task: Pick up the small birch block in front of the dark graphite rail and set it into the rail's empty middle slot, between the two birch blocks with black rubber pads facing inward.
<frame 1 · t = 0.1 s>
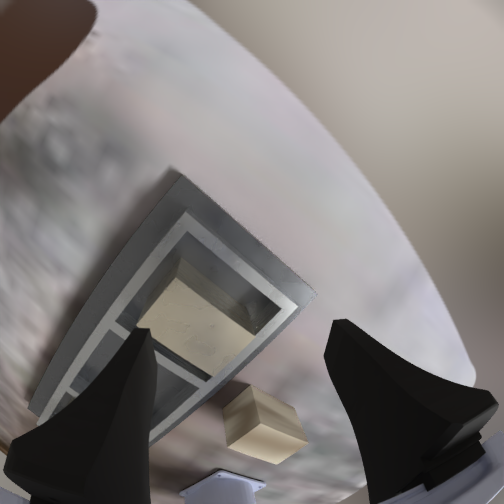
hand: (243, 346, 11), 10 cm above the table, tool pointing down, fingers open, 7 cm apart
birch block: (259, 408, 25), on the table
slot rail: (135, 367, 22), on the table
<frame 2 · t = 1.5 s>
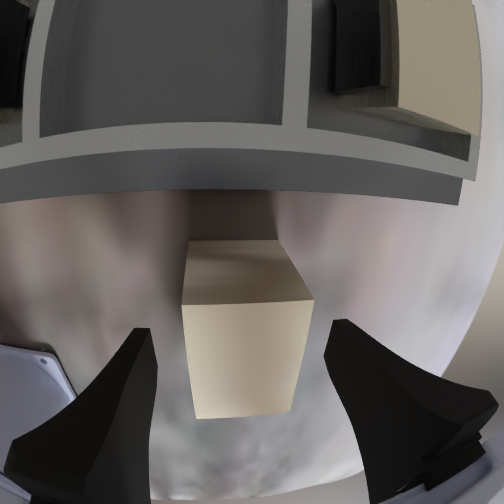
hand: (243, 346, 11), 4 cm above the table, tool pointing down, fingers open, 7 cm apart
birch block: (232, 296, 14), on the table
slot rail: (169, 34, 9), on the table
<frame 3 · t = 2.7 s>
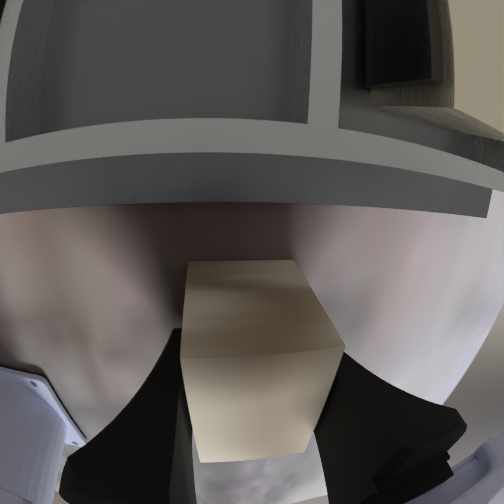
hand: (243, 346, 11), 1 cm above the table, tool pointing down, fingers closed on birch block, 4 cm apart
birch block: (239, 323, 12), on the table, touching gripper
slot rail: (165, 15, 7), on the table
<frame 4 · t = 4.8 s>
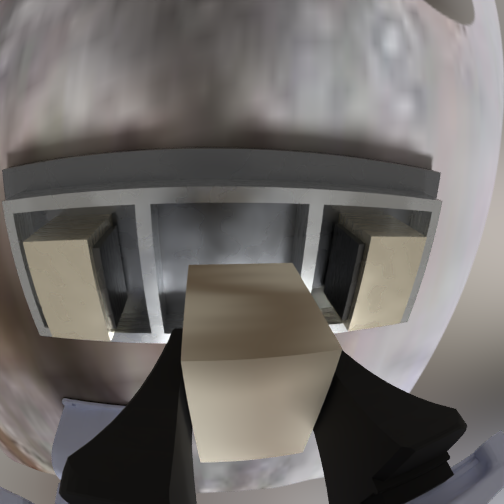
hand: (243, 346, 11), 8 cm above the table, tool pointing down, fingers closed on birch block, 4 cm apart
birch block: (239, 326, 12), point 7 cm above the table, touching gripper
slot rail: (226, 252, 18), on the table
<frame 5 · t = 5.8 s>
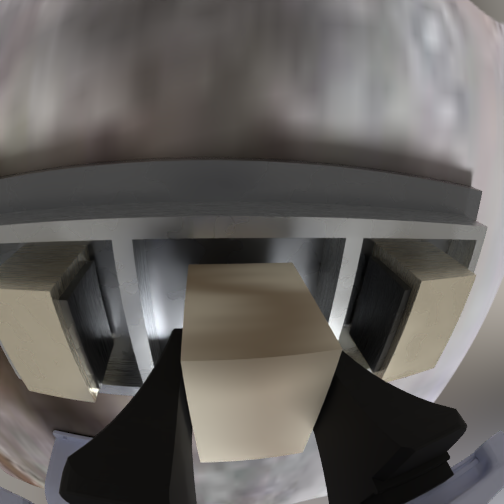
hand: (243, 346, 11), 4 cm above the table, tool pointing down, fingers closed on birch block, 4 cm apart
birch block: (239, 325, 12), point 3 cm above the table, touching gripper
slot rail: (233, 290, 15), on the table
when the fingers open (4 cm above the table, at t = 6.7 s): birch block drops 1 cm, resting on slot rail.
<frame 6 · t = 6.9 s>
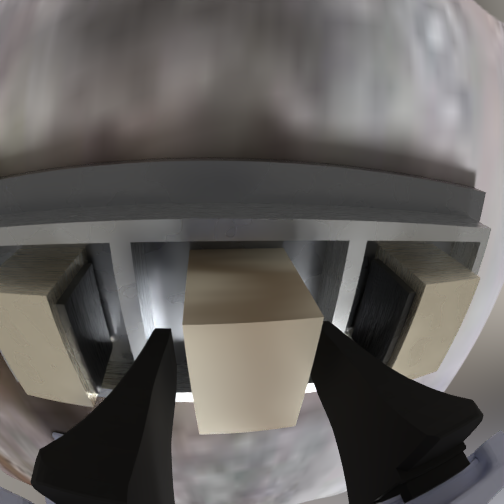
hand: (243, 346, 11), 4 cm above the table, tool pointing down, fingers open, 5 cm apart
birch block: (236, 307, 14), point 1 cm above the table, touching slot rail
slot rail: (234, 293, 14), on the table
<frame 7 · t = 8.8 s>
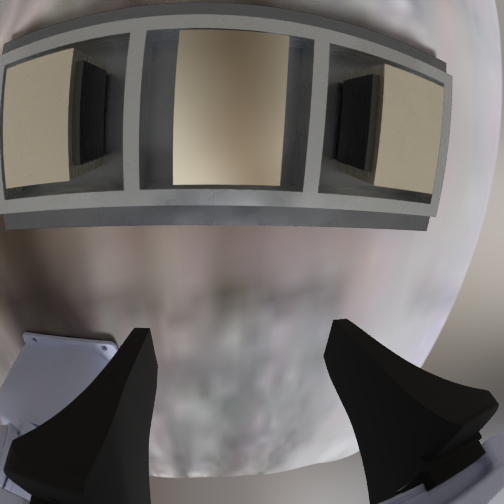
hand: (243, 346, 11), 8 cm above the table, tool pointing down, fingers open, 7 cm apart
birch block: (223, 111, 14), point 1 cm above the table, touching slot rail
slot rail: (223, 109, 15), on the table
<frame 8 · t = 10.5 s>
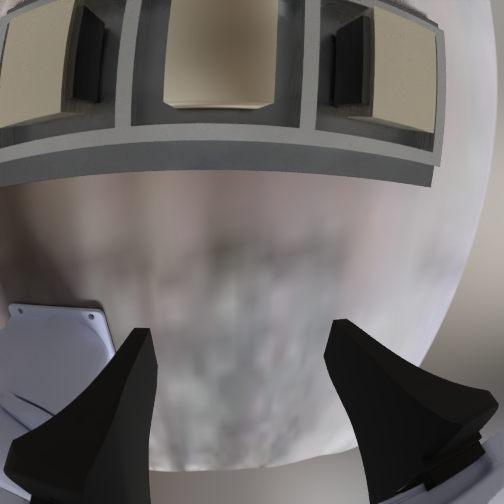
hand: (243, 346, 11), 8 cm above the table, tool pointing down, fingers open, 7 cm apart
birch block: (218, 57, 13), point 1 cm above the table, touching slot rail
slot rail: (217, 58, 13), on the table
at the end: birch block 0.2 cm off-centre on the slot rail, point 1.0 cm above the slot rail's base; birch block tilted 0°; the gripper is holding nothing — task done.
